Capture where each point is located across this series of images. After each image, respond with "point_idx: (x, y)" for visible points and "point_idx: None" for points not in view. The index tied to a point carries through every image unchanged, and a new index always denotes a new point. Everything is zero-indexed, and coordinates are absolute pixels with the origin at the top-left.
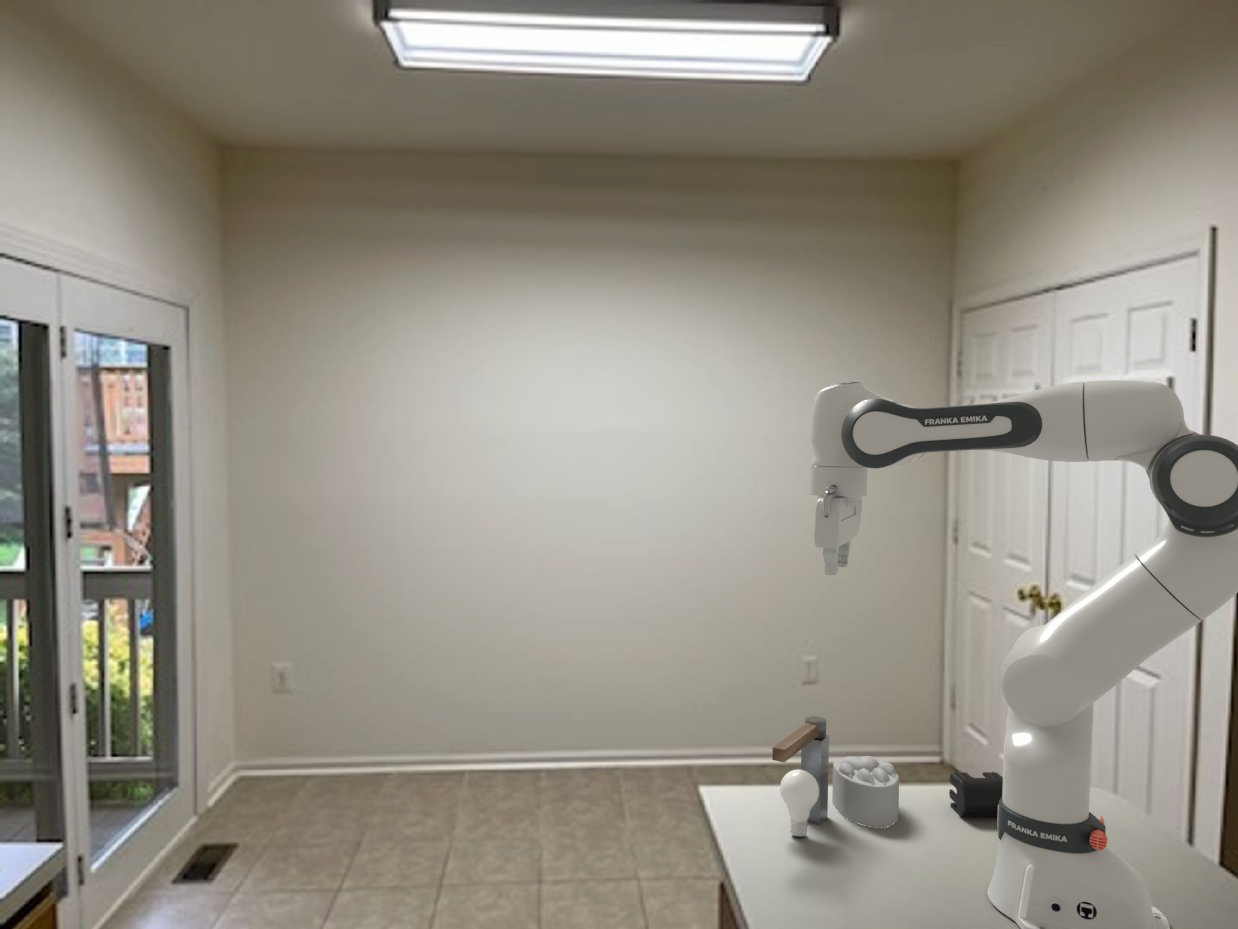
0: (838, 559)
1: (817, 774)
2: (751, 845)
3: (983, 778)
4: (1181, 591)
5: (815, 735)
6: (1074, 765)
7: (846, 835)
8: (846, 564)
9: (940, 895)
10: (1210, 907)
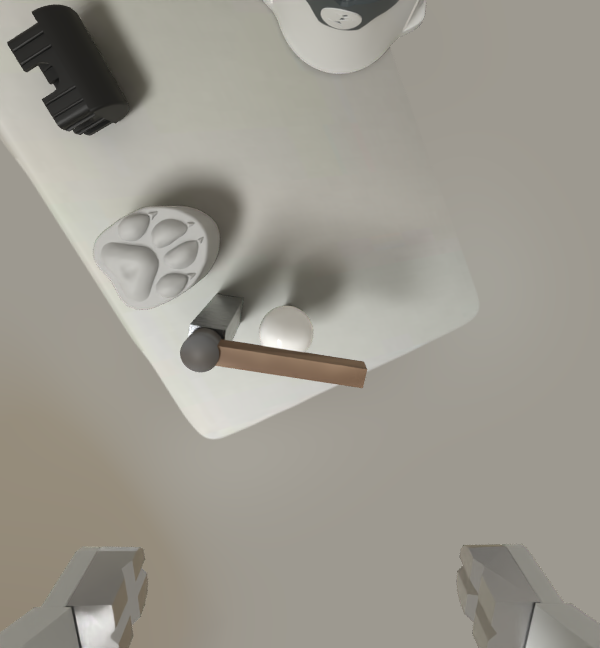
0: (129, 628)
1: (233, 320)
2: None
3: (65, 66)
4: None
5: (231, 342)
6: None
7: (257, 262)
8: (134, 556)
9: (364, 133)
10: None
